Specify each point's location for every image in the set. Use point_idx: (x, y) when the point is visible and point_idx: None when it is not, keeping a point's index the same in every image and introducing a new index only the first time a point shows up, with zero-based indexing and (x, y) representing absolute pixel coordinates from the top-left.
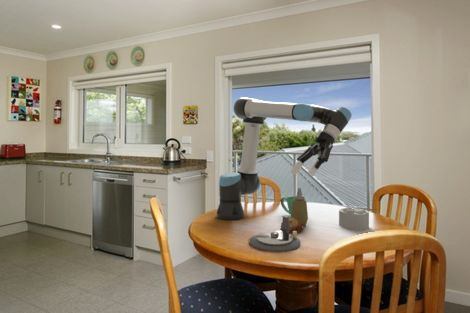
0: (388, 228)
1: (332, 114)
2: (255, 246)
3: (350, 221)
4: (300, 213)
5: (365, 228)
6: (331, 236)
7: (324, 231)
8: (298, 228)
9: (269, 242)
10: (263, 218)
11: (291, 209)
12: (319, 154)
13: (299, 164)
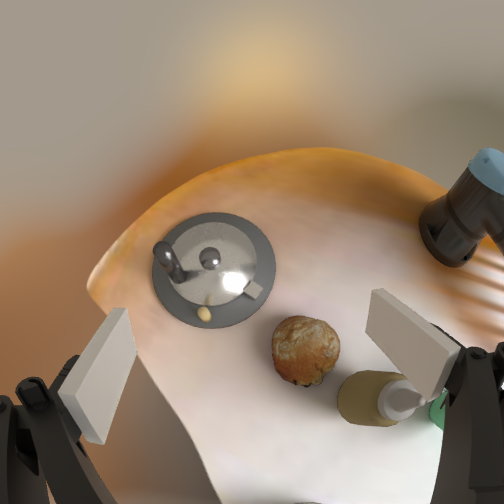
0: None
1: None
2: (194, 217)
3: None
4: (347, 393)
5: None
6: (217, 434)
7: (269, 441)
8: (273, 359)
9: (179, 237)
10: (434, 311)
11: (446, 393)
12: (62, 474)
13: (421, 358)
